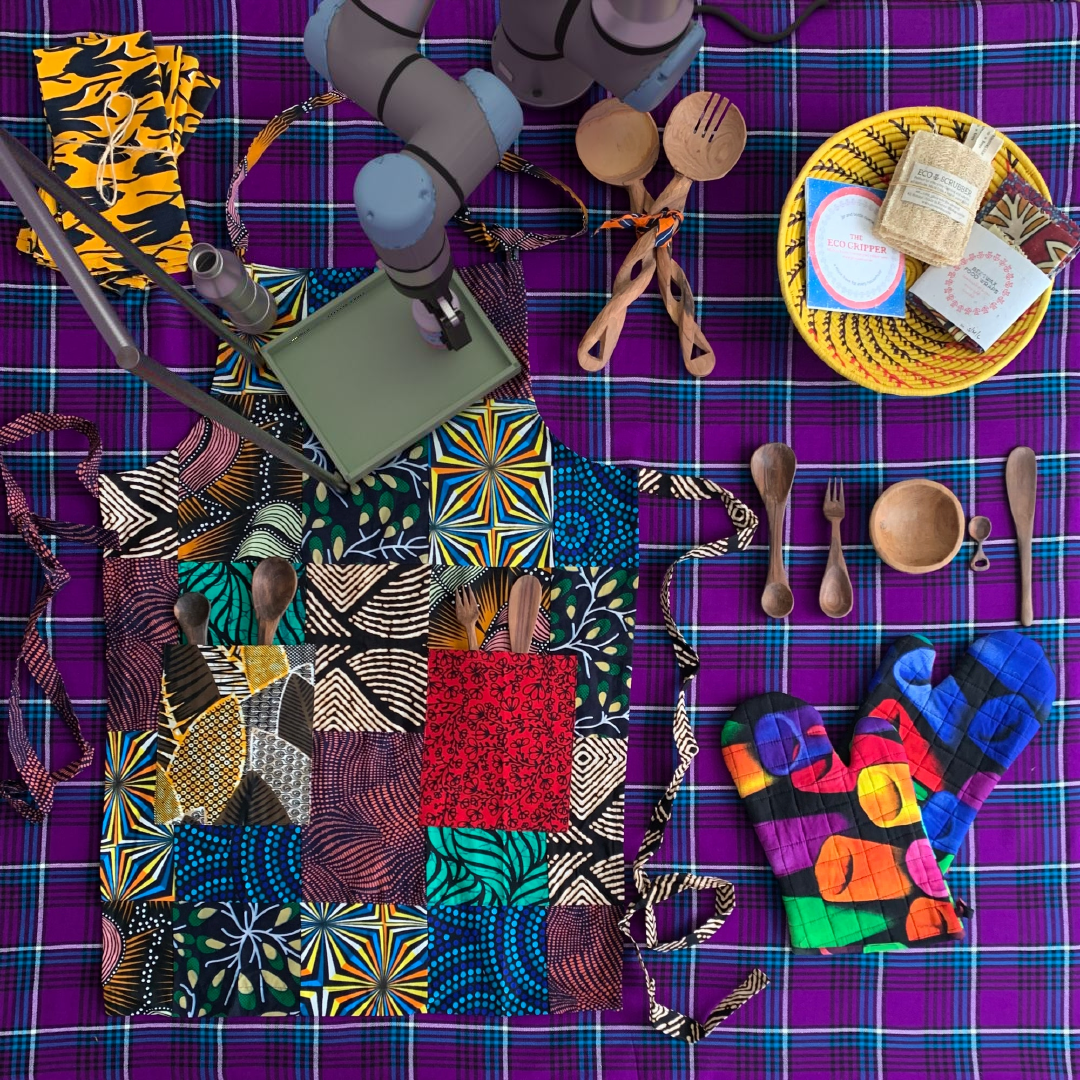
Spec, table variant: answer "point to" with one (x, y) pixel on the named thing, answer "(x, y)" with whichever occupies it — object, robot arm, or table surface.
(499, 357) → the platform cart
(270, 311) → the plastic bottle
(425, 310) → the pill bottle
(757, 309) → the table surface
